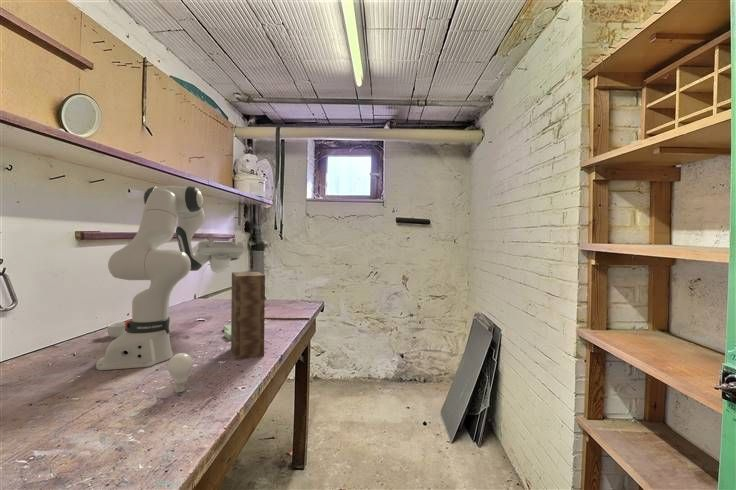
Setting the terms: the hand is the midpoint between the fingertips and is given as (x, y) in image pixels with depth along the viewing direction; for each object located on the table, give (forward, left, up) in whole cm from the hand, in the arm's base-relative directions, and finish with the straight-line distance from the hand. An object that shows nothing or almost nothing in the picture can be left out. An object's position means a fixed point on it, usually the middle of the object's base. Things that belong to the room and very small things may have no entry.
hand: (223, 239), depth 161 cm
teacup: (-41, +11, -43) cm, 60 cm away
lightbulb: (-16, -62, -43) cm, 77 cm away
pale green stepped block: (+4, -5, -42) cm, 43 cm away
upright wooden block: (+6, -34, -42) cm, 55 cm away
